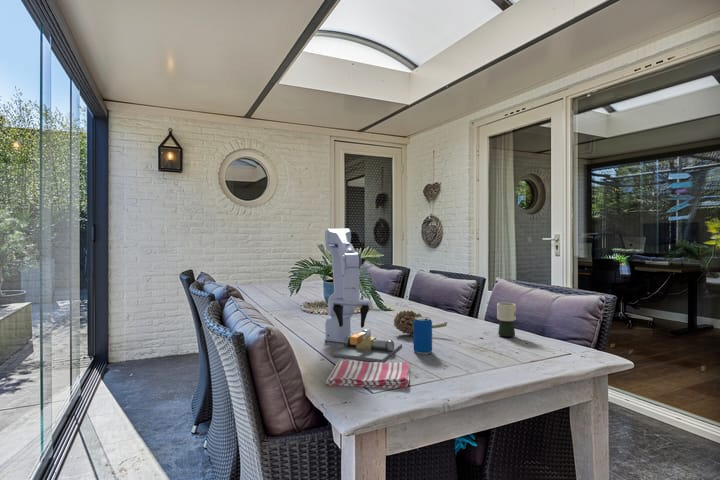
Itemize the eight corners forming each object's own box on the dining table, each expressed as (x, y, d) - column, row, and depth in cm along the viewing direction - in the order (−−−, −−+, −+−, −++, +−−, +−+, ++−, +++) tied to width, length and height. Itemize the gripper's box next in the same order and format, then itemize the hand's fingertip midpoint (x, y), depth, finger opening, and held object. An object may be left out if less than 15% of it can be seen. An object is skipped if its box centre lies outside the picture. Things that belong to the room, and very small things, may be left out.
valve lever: (363, 335, 150) (363, 328, 149) (372, 336, 148) (372, 329, 148) (349, 344, 138) (349, 336, 138) (358, 345, 137) (357, 337, 137)
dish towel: (409, 391, 112) (409, 378, 112) (324, 387, 115) (324, 375, 115) (409, 369, 129) (409, 358, 129) (336, 367, 132) (336, 356, 132)
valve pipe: (343, 348, 149) (343, 337, 148) (349, 345, 153) (348, 334, 153) (390, 354, 141) (390, 342, 141) (395, 350, 146) (395, 338, 145)
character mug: (520, 340, 159) (520, 306, 159) (501, 339, 160) (501, 306, 159) (511, 332, 170) (511, 301, 170) (493, 332, 171) (493, 301, 170)
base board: (333, 356, 142) (333, 353, 142) (357, 341, 160) (357, 338, 160) (382, 362, 134) (382, 359, 134) (402, 346, 153) (402, 343, 152)
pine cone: (392, 337, 165) (392, 312, 165) (394, 331, 175) (394, 308, 174) (449, 339, 162) (449, 313, 161) (447, 333, 171) (447, 309, 171)
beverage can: (432, 355, 141) (431, 320, 141) (412, 354, 143) (412, 319, 142) (432, 350, 148) (432, 316, 147) (414, 349, 149) (414, 316, 149)
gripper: (327, 288, 141) (328, 328, 142) (369, 289, 138) (369, 330, 138) (333, 286, 148) (334, 323, 149) (373, 286, 145) (373, 325, 145)
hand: (351, 326), depth 144 cm, fingers open, 7 cm apart
